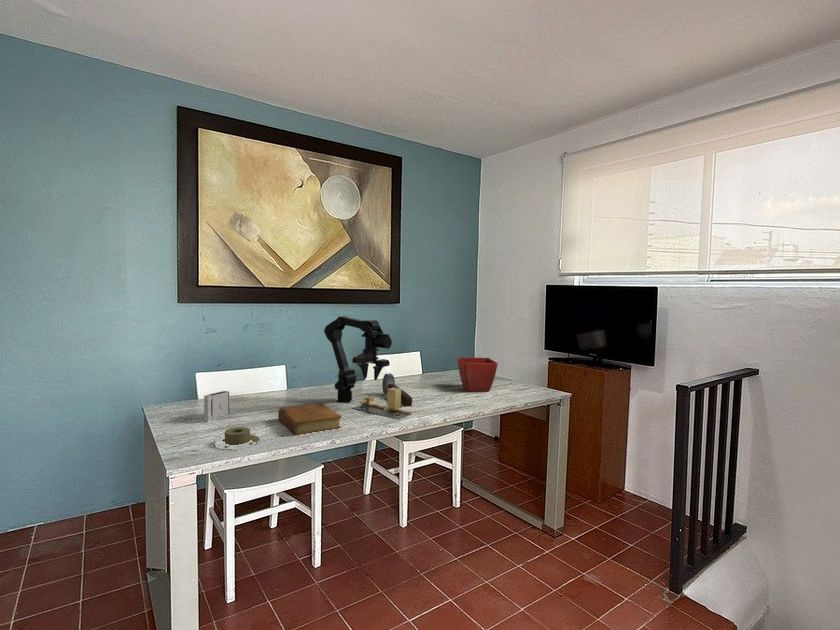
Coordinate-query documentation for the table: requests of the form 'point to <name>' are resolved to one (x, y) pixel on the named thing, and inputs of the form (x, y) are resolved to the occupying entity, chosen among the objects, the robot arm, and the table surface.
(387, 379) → the hammer
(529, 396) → the table surface
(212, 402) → the grey rectangular block
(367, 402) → the trammel bar
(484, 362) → the plant pot
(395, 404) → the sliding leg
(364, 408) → the bolt strip
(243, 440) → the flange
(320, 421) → the diary
